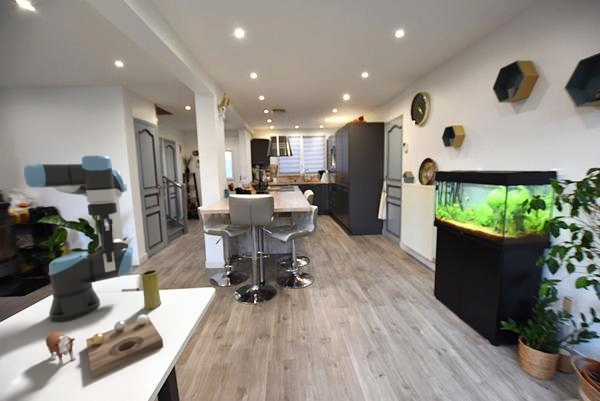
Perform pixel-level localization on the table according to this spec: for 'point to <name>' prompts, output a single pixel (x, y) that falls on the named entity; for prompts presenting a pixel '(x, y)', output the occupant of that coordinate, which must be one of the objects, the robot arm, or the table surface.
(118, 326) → the steel ball
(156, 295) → the vase
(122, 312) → the table surface
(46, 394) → the table surface
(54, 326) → the table surface
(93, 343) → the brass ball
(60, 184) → the robot arm
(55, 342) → the bull figurine
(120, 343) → the board
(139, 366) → the table surface
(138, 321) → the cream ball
